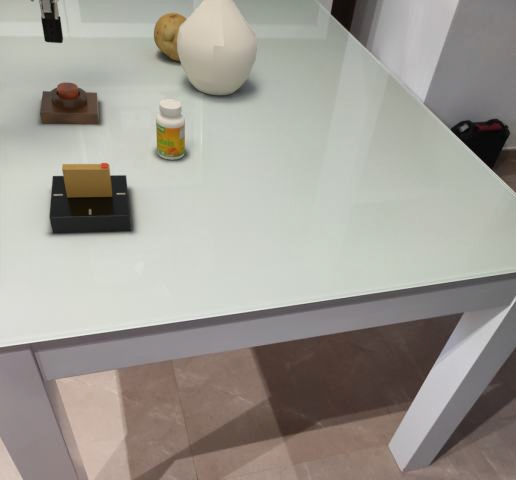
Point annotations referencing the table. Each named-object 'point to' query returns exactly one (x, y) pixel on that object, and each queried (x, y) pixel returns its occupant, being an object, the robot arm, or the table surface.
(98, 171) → the dial pointer knob
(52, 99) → the brown square block
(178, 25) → the potato
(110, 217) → the dial pointer knob base
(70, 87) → the red short cylinder
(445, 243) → the table surface
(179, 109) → the supplement bottle
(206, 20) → the vase
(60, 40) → the robot arm
